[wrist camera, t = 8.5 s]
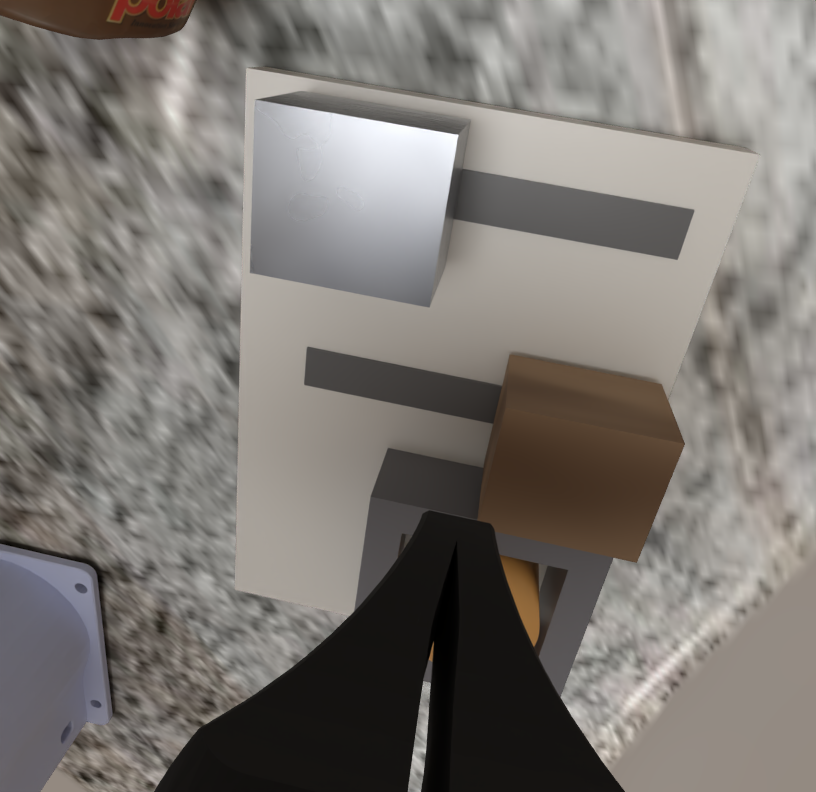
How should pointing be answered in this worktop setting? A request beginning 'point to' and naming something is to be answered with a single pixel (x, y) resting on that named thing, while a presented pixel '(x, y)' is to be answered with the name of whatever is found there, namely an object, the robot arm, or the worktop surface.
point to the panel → (465, 345)
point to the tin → (102, 16)
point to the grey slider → (354, 194)
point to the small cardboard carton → (578, 458)
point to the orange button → (523, 593)
